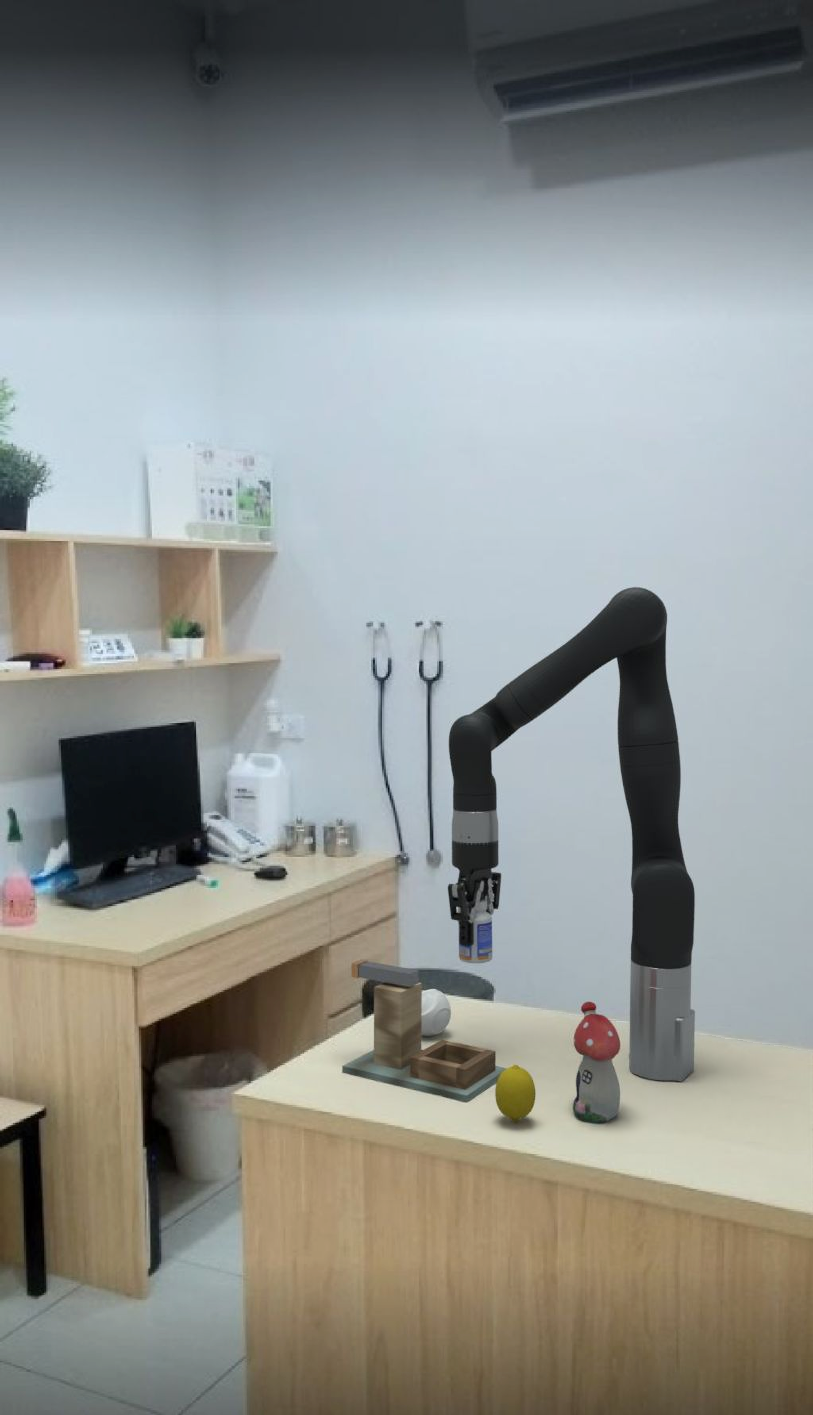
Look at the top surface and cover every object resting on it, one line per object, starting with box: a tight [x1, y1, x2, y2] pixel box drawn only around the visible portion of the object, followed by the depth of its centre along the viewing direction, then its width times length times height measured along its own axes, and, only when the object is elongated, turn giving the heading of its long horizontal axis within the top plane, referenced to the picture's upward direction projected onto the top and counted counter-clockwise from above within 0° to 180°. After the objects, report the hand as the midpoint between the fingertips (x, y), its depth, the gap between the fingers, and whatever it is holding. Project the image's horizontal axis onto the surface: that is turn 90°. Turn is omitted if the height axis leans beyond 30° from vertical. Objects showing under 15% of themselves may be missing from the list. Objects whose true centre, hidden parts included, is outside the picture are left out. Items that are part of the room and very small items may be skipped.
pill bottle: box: [457, 899, 493, 964], centre depth 184 cm, size 5×5×10 cm
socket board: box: [341, 982, 508, 1103], centre depth 176 cm, size 22×13×13 cm, turn 58°
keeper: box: [351, 959, 420, 987], centre depth 179 cm, size 11×3×2 cm, turn 58°
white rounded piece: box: [421, 988, 452, 1037], centre depth 194 cm, size 8×8×8 cm
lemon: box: [494, 1064, 536, 1123], centre depth 158 cm, size 6×6×8 cm
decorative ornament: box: [572, 1001, 621, 1124], centre depth 161 cm, size 9×6×15 cm
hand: (475, 940), depth 184 cm, fingers closed on pill bottle, 5 cm apart
